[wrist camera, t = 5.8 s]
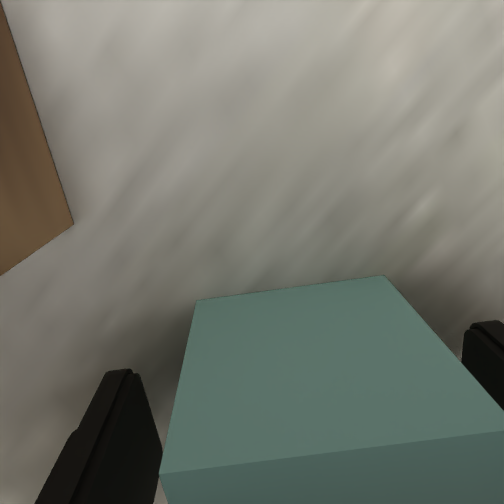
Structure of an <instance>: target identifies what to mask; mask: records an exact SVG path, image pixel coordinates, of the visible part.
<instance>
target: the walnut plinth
mask: <svg viewBox="0 0 504 504" xmlns="http://www.w3.org/2000/svg"><path fill="white" fill-rule="evenodd" d="M72 225H74V224H73V220H72V217H71V214H70V211H69V208H68V205H67V202H66V199H65V196H64V193H63V190H62V187H61V184H60V181H59V178H58V175H57V172H56V169H55V166H54V163H53V160H52V157H51V154H50V151H49V148H48V145H47V142H46V139H45V136H44V133H43V130H42V127H41V124H40V121H39V118H38V115H37V112H36V109H35V106H34V103H33V99H32V96H31V93H30V90H29V87H28V84H27V81H26V78H25V75H24V72H23V69H22V66H21V63H20V60H19V57H18V54H17V51H16V48H15V45H14V42H13V39H12V36H11V33H10V30H9V27H8V24H7V21H6V18H5V15H4V12H3V9H2V6H1V3H0V276H1V275H3V274H4V273H5V272H7V271H8V270H10V269H11V268H12V267H14V266H15V265H17V264H18V263H20V262H21V261H22V260H24V259H25V258H27V257H28V256H30V255H31V254H32V253H34V252H35V251H37V250H38V249H40V248H41V247H42V246H44V245H45V244H47V243H48V242H50V241H51V240H52V239H54V238H55V237H57V236H58V235H59V234H61V233H62V232H64V231H65V230H67V229H68V228H69V227H71V226H72Z"/></svg>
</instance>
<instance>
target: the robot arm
mask: <svg viewBox="0 0 504 504" xmlns="http://www.w3.org/2000/svg"><path fill="white" fill-rule="evenodd" d="M461 363H462V364H463V365H464V367H465V368H466V369H467V370H468V371H469V372H470V373H471V374H472V376H473V377H474V378H475V379H476V380H477V381H478V382H479V384H480V385H481V386H482V387H483V388H484V389H485V390H486V392H487V393H488V394H489V395H490V396H491V397H492V398H493V400H494V401H495V402H496V403H497V404H498V405H499V406H500V407H501V409H502V410H503V411H504V324H503V323H502V322H500V321H498V320H493V321H485V322H478V323H473V324H472V325H471V326H470V329H469V330H466V331H465V334H464V342H463V351H462V361H461ZM162 456H163V450H162V445H161V442H160V439H159V435H158V432H157V429H156V426H155V422H154V419H153V416H152V413H151V409H150V406H149V403H148V400H147V397H146V393H145V390H144V387H143V384H142V380H141V377H140V375H139V374H138V373H134V374H133V371H132V370H131V369H129V368H128V369H121V370H113V371H108V372H106V374H105V375H104V377H103V379H102V381H101V383H100V385H99V387H98V389H97V391H96V393H95V395H94V397H93V399H92V401H91V403H90V405H89V407H88V409H87V411H86V413H85V415H84V417H83V419H82V421H81V423H80V425H79V427H78V429H77V430H75V431H74V432H72V434H71V435H70V437H69V438H68V440H67V442H66V444H65V446H64V448H63V450H62V451H61V453H60V455H59V457H58V459H57V461H56V463H55V465H54V467H53V469H52V471H51V473H50V475H49V477H48V479H47V481H46V482H45V484H44V486H43V488H42V490H41V492H40V494H39V496H38V498H37V500H36V502H35V504H153V502H154V498H155V493H156V488H157V484H158V479H159V470H160V466H161V461H162Z"/></svg>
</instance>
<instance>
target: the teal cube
mask: <svg viewBox="0 0 504 504" xmlns="http://www.w3.org/2000/svg"><path fill="white" fill-rule="evenodd" d="M159 477H160V480H161V483H162V486H163V489H164V492H165V495H166V498H167V501H168V504H504V411H503V410H502V409H501V407H500V406H499V405H498V404H497V403H496V402H495V401H494V400H493V398H492V397H491V396H490V395H489V394H488V393H487V392H486V390H485V389H484V388H483V387H482V386H481V385H480V384H479V382H478V381H477V380H476V379H475V378H474V377H473V376H472V374H471V373H470V372H469V371H468V370H467V369H466V368H465V367H464V365H463V364H462V363H461V362H460V361H459V360H458V359H457V357H456V356H455V355H454V354H453V353H452V352H451V351H450V349H449V348H448V347H447V346H446V345H445V344H444V343H443V342H442V340H441V339H440V338H439V337H438V336H437V335H436V334H435V332H434V331H433V330H432V329H431V328H430V327H429V326H428V324H427V323H426V322H425V321H424V320H423V319H422V318H421V316H420V315H419V314H418V313H417V312H416V311H415V310H414V309H413V307H412V306H411V305H410V304H409V303H408V302H407V301H406V299H405V298H404V297H403V296H402V295H401V294H400V293H399V291H398V290H397V289H396V288H395V287H394V286H393V285H392V283H391V282H390V281H389V280H388V279H387V278H386V277H385V276H384V275H381V276H374V277H366V278H359V279H351V280H344V281H337V282H329V283H322V284H314V285H307V286H299V287H292V288H285V289H277V290H270V291H262V292H255V293H247V294H240V295H232V296H225V297H218V298H210V299H203V300H197V301H196V305H195V310H194V314H193V319H192V324H191V328H190V333H189V337H188V342H187V346H186V351H185V356H184V360H183V365H182V369H181V374H180V379H179V383H178V388H177V392H176V397H175V401H174V406H173V411H172V415H171V420H170V424H169V429H168V433H167V438H166V443H165V447H164V452H163V456H162V461H161V466H160V470H159Z"/></svg>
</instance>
